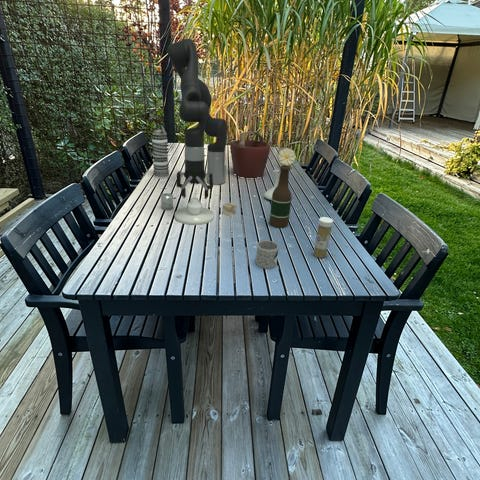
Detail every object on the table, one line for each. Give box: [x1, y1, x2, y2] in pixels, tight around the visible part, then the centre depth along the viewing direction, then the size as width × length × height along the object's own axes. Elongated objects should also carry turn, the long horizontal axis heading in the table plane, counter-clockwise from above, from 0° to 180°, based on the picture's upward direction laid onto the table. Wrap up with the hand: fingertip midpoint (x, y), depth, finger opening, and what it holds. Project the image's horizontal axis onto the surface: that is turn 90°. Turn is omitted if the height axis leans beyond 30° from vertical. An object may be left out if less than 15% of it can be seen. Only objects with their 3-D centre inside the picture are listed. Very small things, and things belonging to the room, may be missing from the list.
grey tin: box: [160, 192, 174, 211], centre depth 145 cm, size 5×5×6 cm
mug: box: [255, 239, 280, 270], centre depth 108 cm, size 10×7×7 cm
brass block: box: [221, 202, 237, 217], centre depth 144 cm, size 4×4×4 cm
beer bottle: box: [269, 164, 292, 229], centre depth 132 cm, size 8×8×24 cm
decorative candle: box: [150, 129, 170, 180], centre depth 183 cm, size 9×9×25 cm
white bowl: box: [174, 206, 215, 226], centre depth 139 cm, size 16×16×2 cm
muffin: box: [186, 197, 203, 215], centre depth 137 cm, size 6×6×7 cm
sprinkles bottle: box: [312, 216, 334, 259], centre depth 112 cm, size 5×5×13 cm
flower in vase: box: [263, 147, 297, 201], centre depth 159 cm, size 13×11×25 cm
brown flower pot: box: [229, 130, 271, 178], centre depth 195 cm, size 24×22×25 cm
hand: (195, 197), depth 136 cm, fingers open, 8 cm apart
